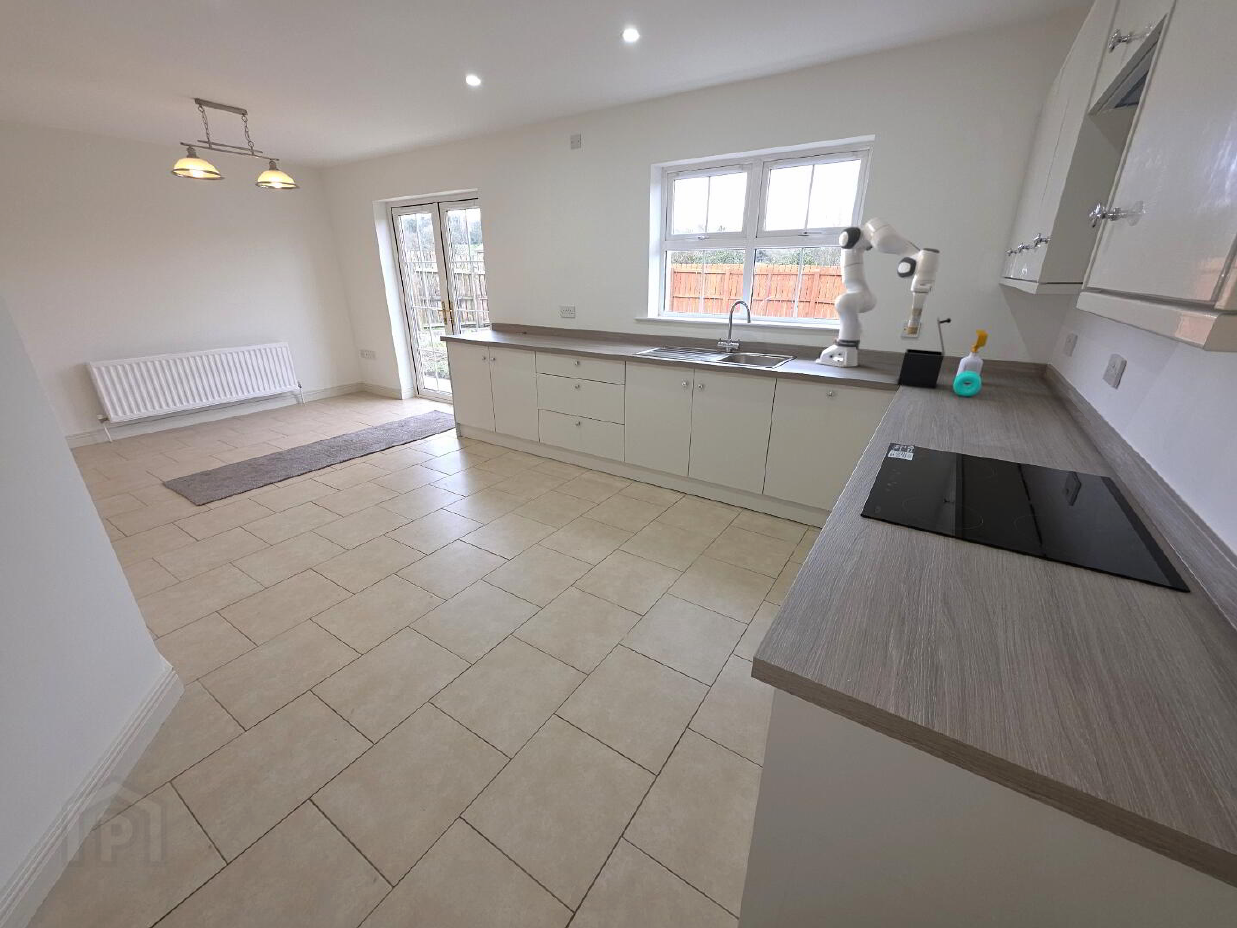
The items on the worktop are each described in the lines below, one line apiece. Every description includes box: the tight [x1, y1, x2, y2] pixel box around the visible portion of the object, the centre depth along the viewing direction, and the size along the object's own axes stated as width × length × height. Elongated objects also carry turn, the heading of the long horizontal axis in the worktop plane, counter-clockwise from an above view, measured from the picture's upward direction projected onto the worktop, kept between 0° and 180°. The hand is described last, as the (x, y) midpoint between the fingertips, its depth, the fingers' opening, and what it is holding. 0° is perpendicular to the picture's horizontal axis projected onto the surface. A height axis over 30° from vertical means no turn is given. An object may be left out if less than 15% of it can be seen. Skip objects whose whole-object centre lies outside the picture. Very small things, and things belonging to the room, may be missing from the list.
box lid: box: [936, 316, 952, 356], centre depth 222 cm, size 16×13×5 cm
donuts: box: [952, 371, 982, 397], centre depth 215 cm, size 10×10×10 cm
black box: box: [897, 348, 945, 390], centre depth 232 cm, size 16×13×15 cm
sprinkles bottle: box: [906, 304, 925, 335], centre depth 227 cm, size 5×5×13 cm
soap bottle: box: [955, 329, 989, 384], centre depth 235 cm, size 9×9×25 cm
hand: (914, 318), depth 226 cm, fingers closed on sprinkles bottle, 4 cm apart
